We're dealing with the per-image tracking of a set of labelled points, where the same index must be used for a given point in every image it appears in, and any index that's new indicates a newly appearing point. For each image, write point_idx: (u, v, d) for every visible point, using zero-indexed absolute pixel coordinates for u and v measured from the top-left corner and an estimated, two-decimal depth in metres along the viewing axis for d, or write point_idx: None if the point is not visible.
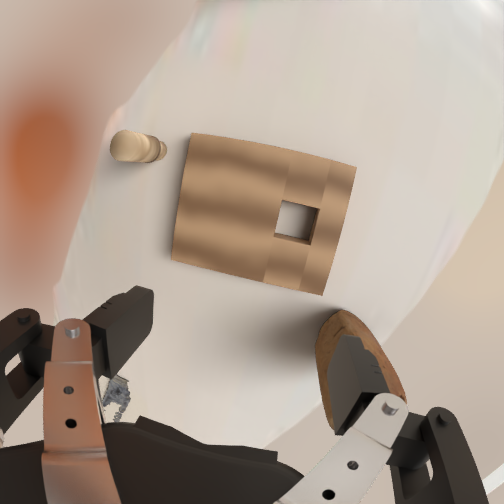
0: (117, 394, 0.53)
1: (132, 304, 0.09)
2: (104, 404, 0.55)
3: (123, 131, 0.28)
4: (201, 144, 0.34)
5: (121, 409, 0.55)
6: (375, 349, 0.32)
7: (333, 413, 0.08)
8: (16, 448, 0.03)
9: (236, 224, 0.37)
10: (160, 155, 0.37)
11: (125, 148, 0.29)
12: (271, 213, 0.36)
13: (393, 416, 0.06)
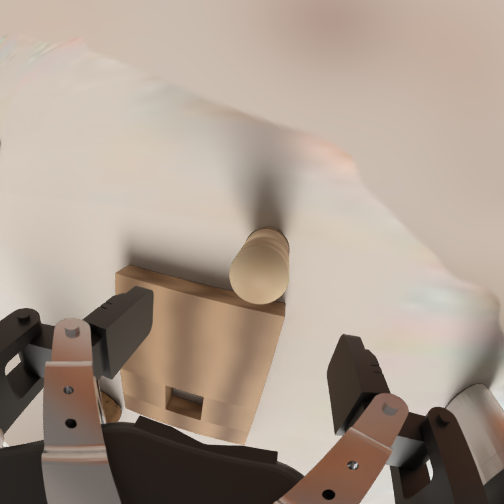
0: None
1: (132, 304, 0.09)
2: None
3: (286, 279, 0.17)
4: (266, 329, 0.26)
5: None
6: None
7: (333, 413, 0.08)
8: (16, 447, 0.03)
9: (170, 356, 0.29)
10: None
11: (252, 283, 0.18)
12: (187, 387, 0.30)
13: (393, 416, 0.06)
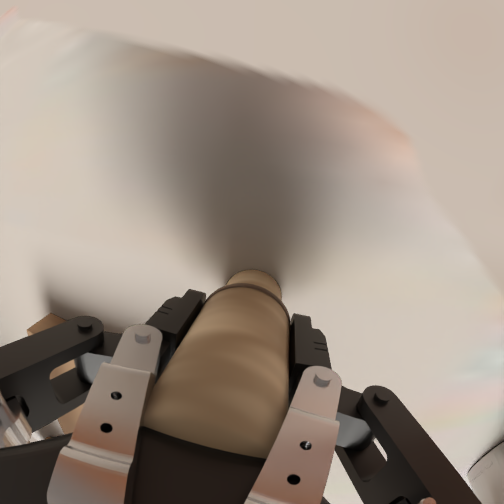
0: None
1: (193, 308, 0.10)
2: None
3: None
4: None
5: None
6: None
7: None
8: (16, 448, 0.03)
9: None
10: None
11: None
12: None
13: (322, 387, 0.07)
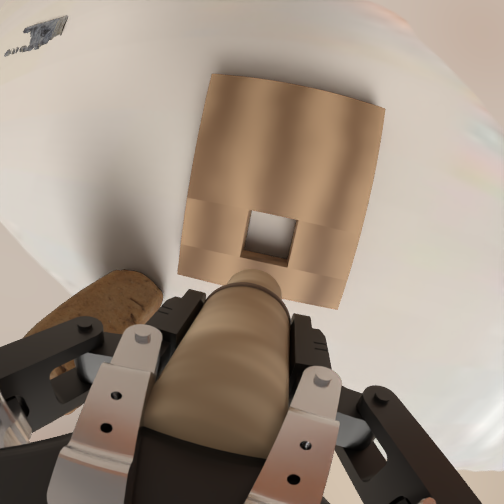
0: (41, 33, 0.25)
1: (193, 308, 0.10)
2: (25, 30, 0.25)
3: None
4: (370, 120, 0.24)
5: (23, 48, 0.26)
6: None
7: None
8: (16, 448, 0.03)
9: (264, 160, 0.26)
10: None
11: None
12: (279, 207, 0.27)
13: (322, 387, 0.07)
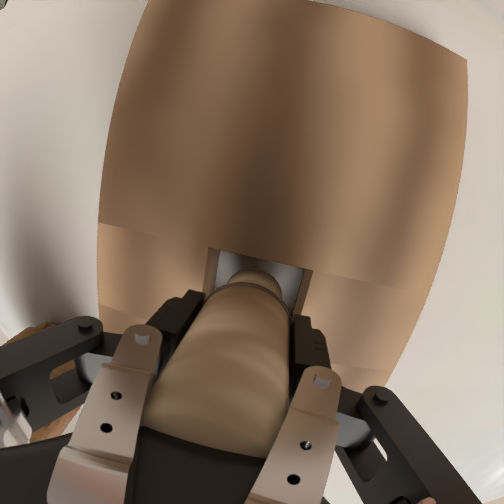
0: None
1: (193, 308, 0.10)
2: None
3: None
4: (448, 73, 0.09)
5: None
6: None
7: None
8: (16, 448, 0.03)
9: (239, 140, 0.12)
10: None
11: None
12: (273, 242, 0.13)
13: (322, 387, 0.07)
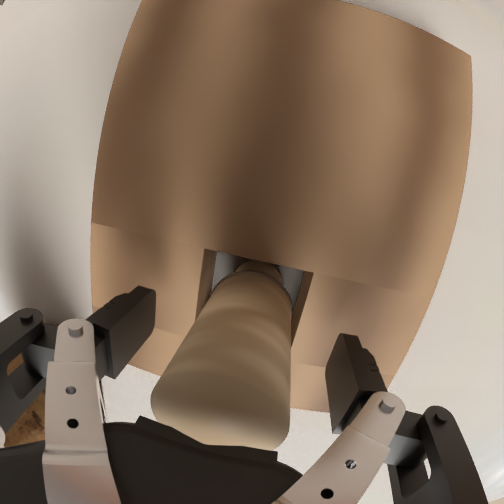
0: None
1: (135, 304, 0.09)
2: None
3: (282, 430, 0.06)
4: (452, 69, 0.09)
5: None
6: None
7: (331, 411, 0.09)
8: (16, 447, 0.03)
9: (236, 137, 0.11)
10: None
11: (203, 430, 0.07)
12: (272, 244, 0.12)
13: (390, 414, 0.06)
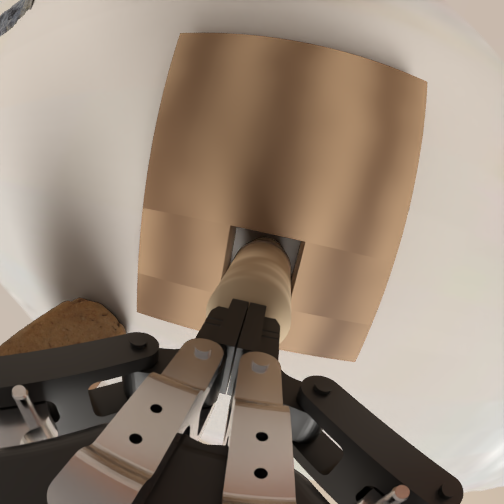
0: (8, 17, 0.16)
1: (242, 318, 0.10)
2: None
3: (287, 322, 0.12)
4: (409, 95, 0.14)
5: None
6: None
7: None
8: (16, 447, 0.03)
9: (253, 150, 0.17)
10: None
11: None
12: (277, 222, 0.18)
13: (257, 372, 0.07)
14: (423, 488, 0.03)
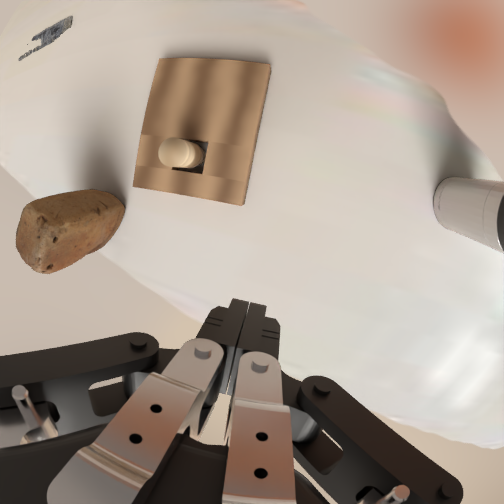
0: (51, 32, 0.36)
1: (242, 318, 0.10)
2: (34, 38, 0.36)
3: (184, 151, 0.32)
4: (258, 72, 0.34)
5: (37, 47, 0.37)
6: (90, 238, 0.37)
7: None
8: (16, 448, 0.03)
9: (187, 106, 0.37)
10: None
11: (168, 155, 0.32)
12: (196, 134, 0.38)
13: (257, 372, 0.07)
14: (423, 488, 0.03)
